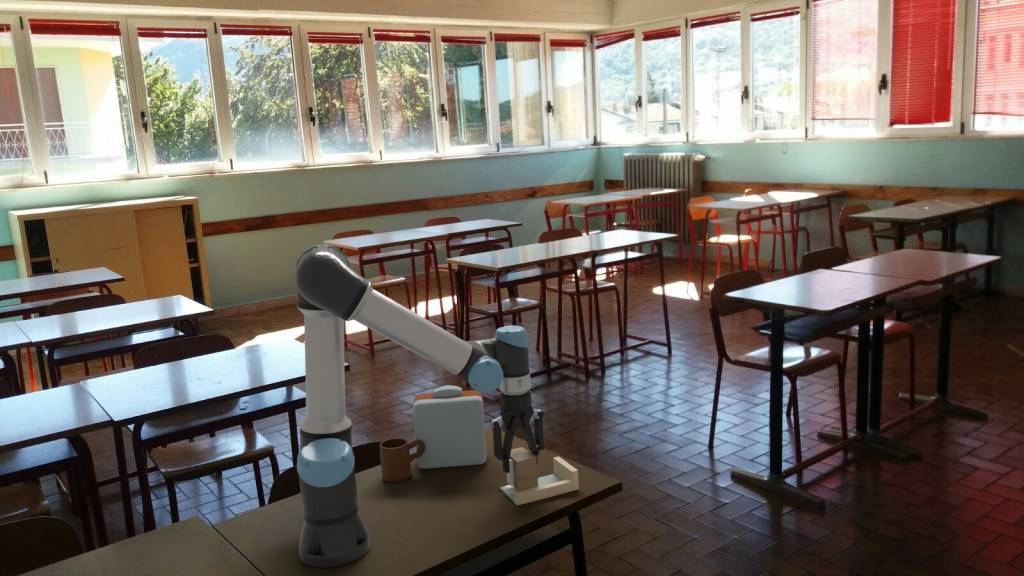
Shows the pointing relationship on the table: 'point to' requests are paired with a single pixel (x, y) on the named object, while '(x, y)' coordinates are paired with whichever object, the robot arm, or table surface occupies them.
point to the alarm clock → (450, 427)
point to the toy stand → (547, 484)
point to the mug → (398, 458)
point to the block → (524, 469)
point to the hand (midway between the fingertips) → (521, 481)
